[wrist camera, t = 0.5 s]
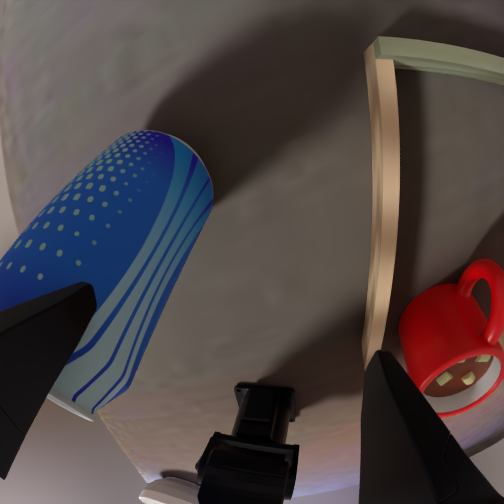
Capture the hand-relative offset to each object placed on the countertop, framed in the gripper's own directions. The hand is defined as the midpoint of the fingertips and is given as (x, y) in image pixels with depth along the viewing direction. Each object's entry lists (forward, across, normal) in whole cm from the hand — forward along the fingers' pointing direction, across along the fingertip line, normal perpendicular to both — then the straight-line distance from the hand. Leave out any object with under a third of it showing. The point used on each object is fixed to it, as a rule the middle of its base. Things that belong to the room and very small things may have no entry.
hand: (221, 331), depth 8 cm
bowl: (+15, +10, +73) cm, 75 cm away
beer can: (+13, +8, 0) cm, 15 cm away
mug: (+14, -16, +6) cm, 22 cm away
